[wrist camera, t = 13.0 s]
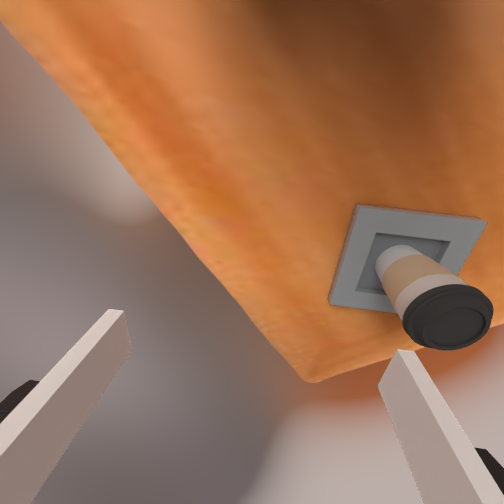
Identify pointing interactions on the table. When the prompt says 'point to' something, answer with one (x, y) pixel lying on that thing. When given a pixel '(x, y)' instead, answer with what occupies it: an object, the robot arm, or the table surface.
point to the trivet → (391, 234)
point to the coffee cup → (432, 300)
